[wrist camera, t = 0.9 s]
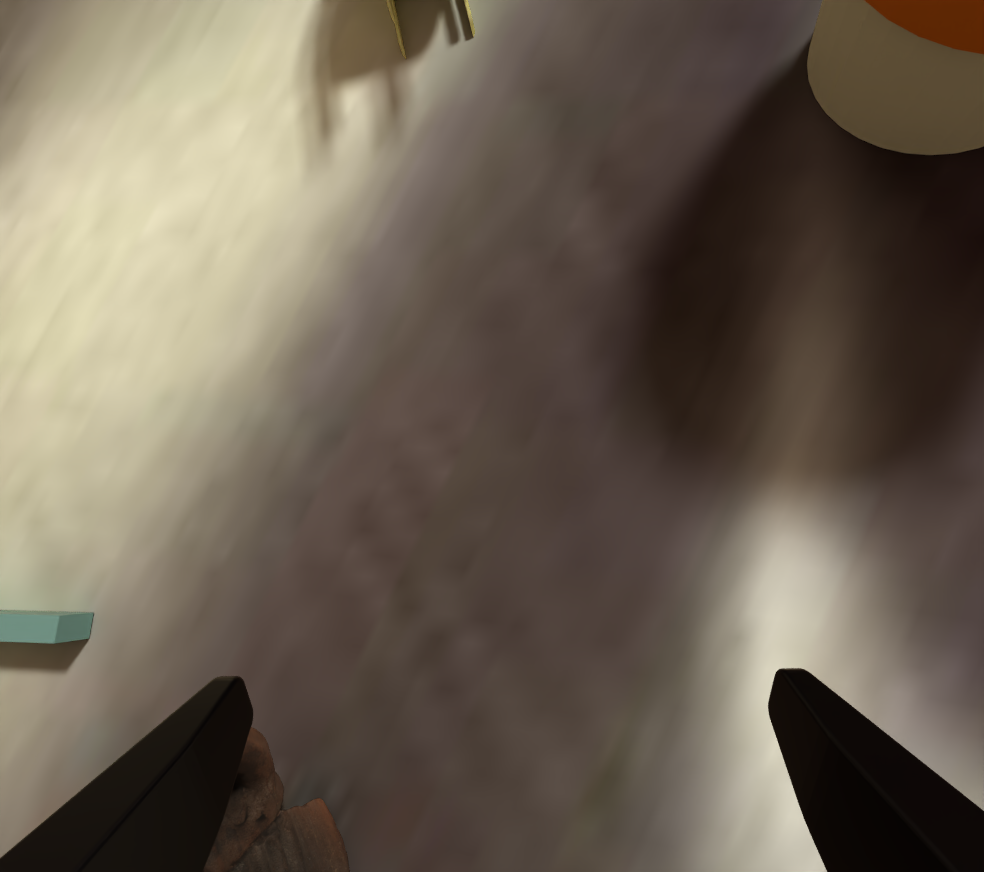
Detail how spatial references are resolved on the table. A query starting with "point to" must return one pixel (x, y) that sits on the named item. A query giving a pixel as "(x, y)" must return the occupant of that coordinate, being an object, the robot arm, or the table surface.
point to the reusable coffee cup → (902, 72)
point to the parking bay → (44, 626)
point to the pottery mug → (273, 824)
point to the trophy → (395, 18)
